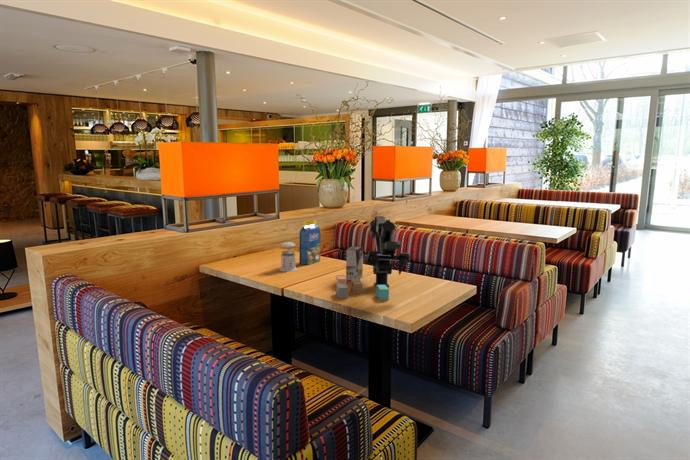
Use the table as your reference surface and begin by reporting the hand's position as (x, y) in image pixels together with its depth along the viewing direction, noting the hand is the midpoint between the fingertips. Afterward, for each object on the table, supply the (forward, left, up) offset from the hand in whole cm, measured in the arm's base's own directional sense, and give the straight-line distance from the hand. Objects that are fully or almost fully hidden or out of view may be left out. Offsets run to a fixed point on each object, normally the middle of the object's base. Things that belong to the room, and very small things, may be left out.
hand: (389, 273), depth 198 cm
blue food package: (-73, -29, -13) cm, 80 cm away
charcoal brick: (-9, -20, -13) cm, 25 cm away
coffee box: (-37, -9, -13) cm, 40 cm away
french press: (-58, -42, -13) cm, 73 cm away
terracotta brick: (-23, -18, -13) cm, 32 cm away
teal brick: (-5, -2, -13) cm, 14 cm away
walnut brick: (-15, -12, -13) cm, 23 cm away
